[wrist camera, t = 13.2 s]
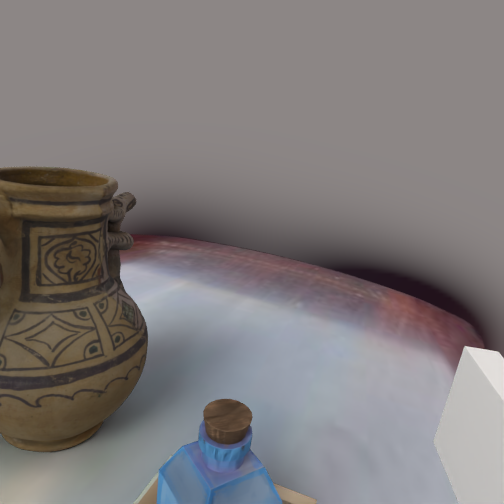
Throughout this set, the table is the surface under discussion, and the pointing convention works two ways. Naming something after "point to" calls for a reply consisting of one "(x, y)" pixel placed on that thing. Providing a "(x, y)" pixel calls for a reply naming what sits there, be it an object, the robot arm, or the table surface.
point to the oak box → (290, 499)
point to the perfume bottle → (218, 463)
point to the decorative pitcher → (64, 306)
